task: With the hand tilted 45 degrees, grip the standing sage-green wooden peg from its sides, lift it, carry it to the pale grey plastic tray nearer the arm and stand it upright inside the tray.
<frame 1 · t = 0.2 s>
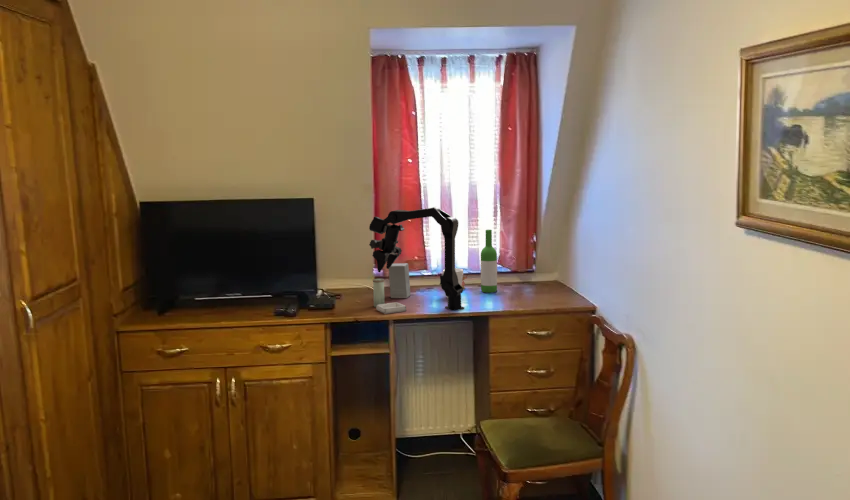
hand: (383, 270, 317), 15 cm above the table, tool tilted 15°, fingers open, 9 cm apart
wine bottle: (488, 292, 341), on the table
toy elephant: (456, 289, 349), on the table
skincare box: (399, 297, 332), on the table
foam cup: (453, 297, 330), on the table
tray: (391, 310, 306), on the table
peg: (379, 306, 314), on the table
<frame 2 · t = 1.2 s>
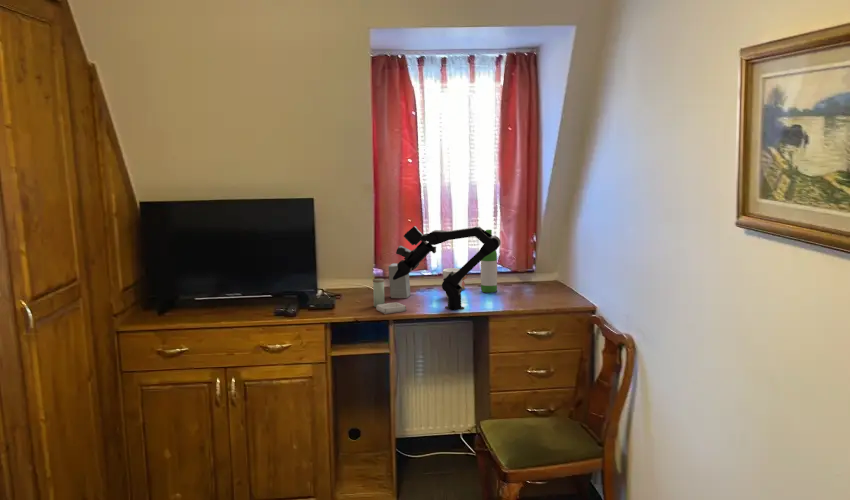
hand: (395, 277, 311), 13 cm above the table, tool tilted 45°, fingers open, 9 cm apart
nothing on the table moved.
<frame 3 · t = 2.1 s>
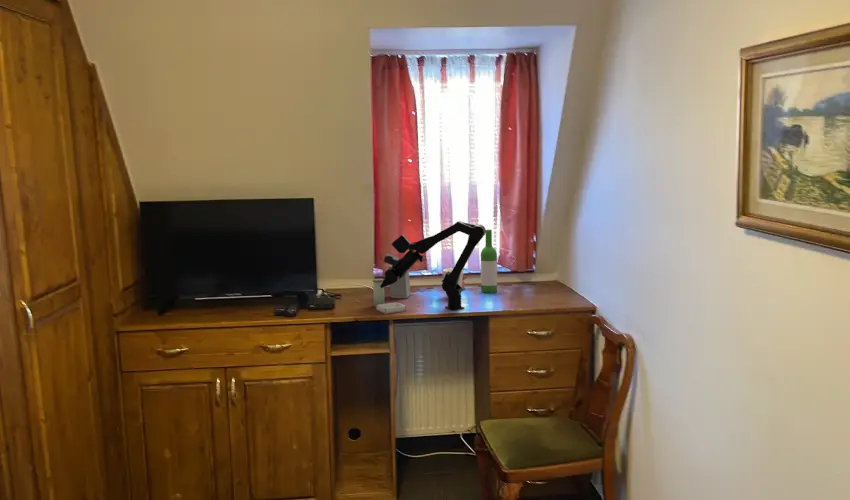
hand: (383, 285, 313), 10 cm above the table, tool tilted 45°, fingers open, 9 cm apart
nothing on the table moved.
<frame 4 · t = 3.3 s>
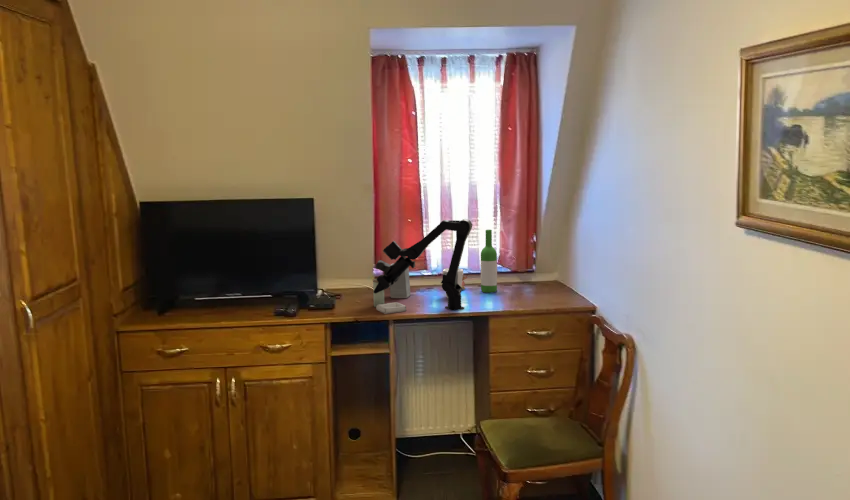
hand: (375, 291, 314), 7 cm above the table, tool tilted 45°, fingers closed on peg, 5 cm apart
peg: (379, 306, 314), on the table, touching gripper
everything else where it was.
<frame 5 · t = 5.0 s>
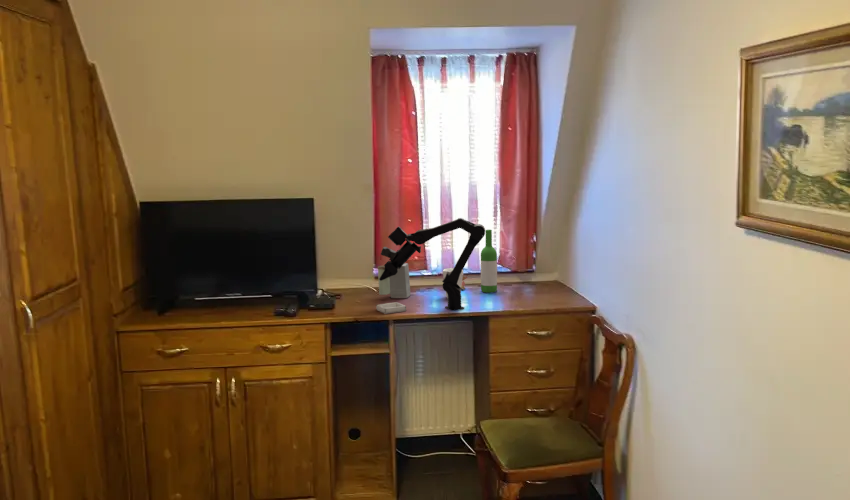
hand: (380, 278, 308), 13 cm above the table, tool tilted 45°, fingers closed on peg, 5 cm apart
peg: (384, 293, 309), point 7 cm above the table, touching gripper
everything else where it was.
when the fingers open (8 cm above the table, at t = 6.7 s): peg stays where it is, resting on tray.
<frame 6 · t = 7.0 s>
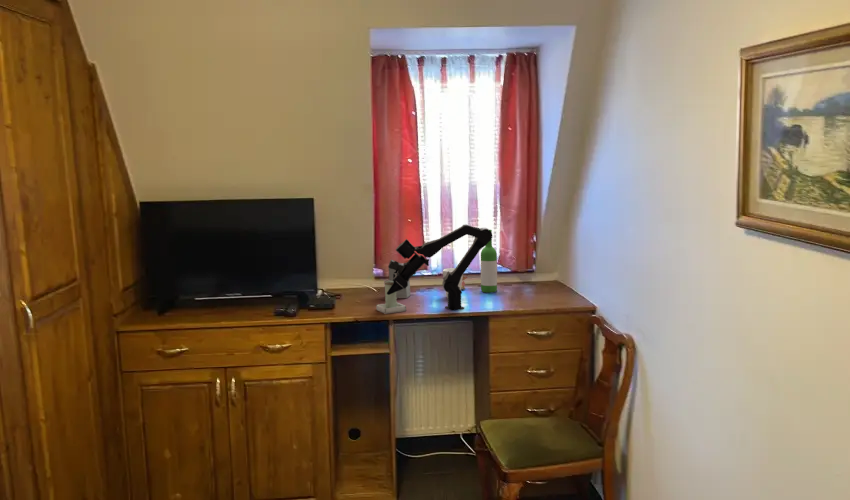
hand: (387, 292, 304), 8 cm above the table, tool tilted 45°, fingers open, 8 cm apart
peg: (391, 309, 306), point 1 cm above the table, touching tray
everything else where it was.
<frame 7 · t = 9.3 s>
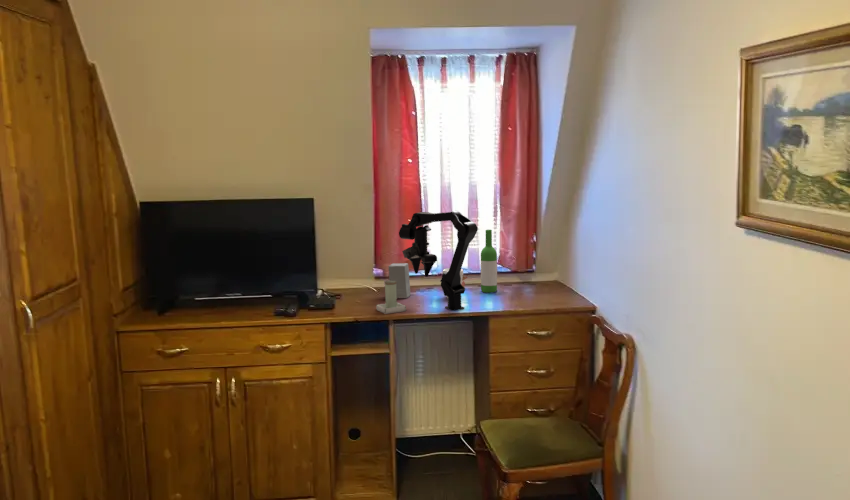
hand: (421, 275, 316), 13 cm above the table, tool pointing down, fingers open, 9 cm apart
nothing on the table moved.
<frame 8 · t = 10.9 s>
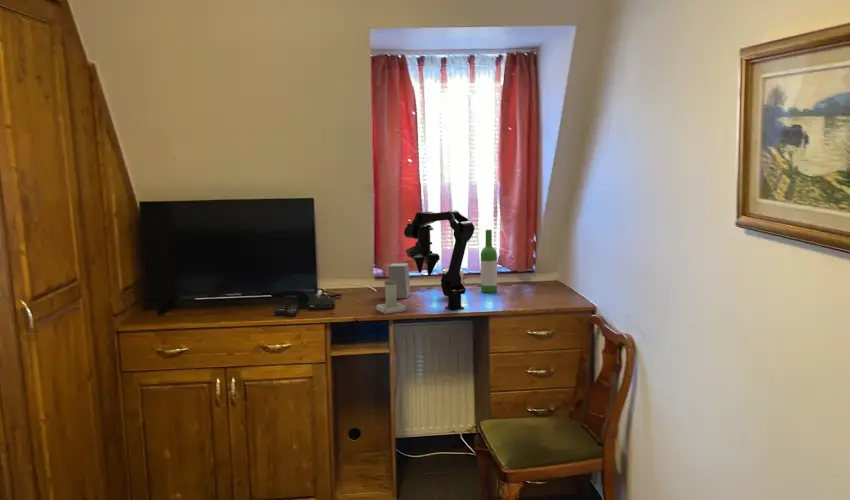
hand: (424, 274, 319), 13 cm above the table, tool pointing down, fingers open, 9 cm apart
nothing on the table moved.
at the end: peg inside the target area on the tray (0.0 cm from its centre), point 0.6 cm above the tray's base; peg tilted 0°; the gripper is holding nothing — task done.
